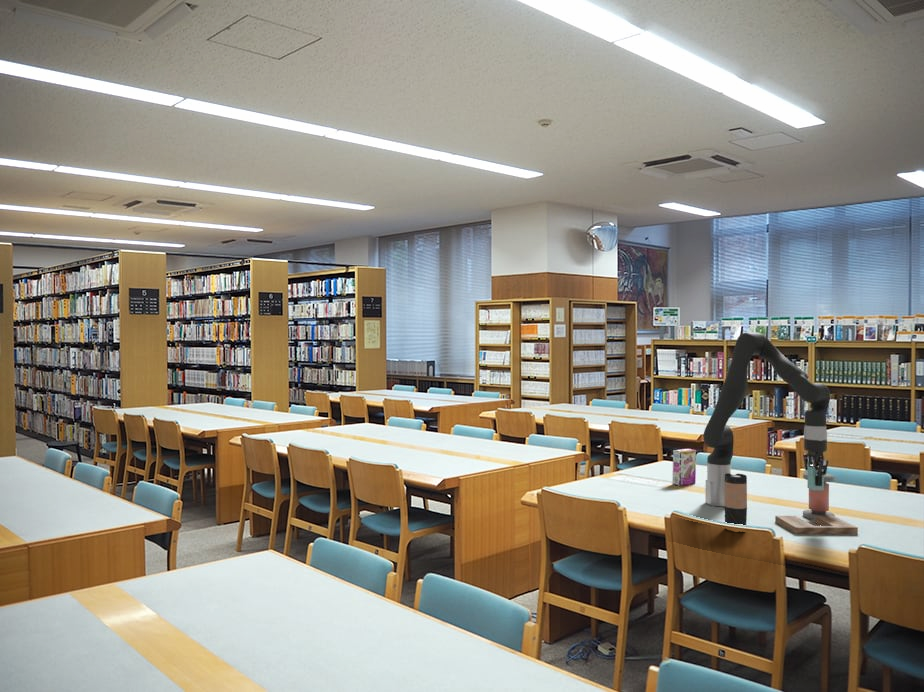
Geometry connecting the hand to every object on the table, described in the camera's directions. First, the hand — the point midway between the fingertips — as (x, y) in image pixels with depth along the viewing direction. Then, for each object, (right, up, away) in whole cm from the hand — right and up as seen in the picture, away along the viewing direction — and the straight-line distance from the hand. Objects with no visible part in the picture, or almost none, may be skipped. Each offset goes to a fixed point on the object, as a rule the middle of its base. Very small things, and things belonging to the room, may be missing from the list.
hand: (815, 484), depth 250 cm
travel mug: (-30, -17, -2) cm, 34 cm away
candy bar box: (-24, -15, +75) cm, 80 cm away
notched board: (0, -16, 0) cm, 16 cm away
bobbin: (+9, -16, +15) cm, 24 cm away
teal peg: (0, -2, 0) cm, 2 cm away
